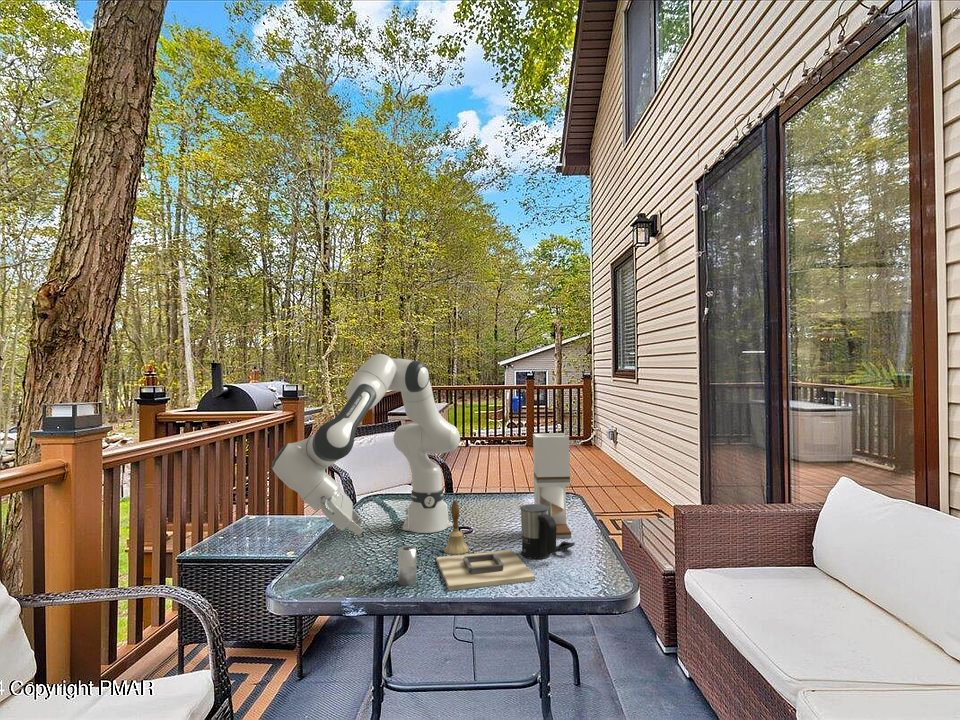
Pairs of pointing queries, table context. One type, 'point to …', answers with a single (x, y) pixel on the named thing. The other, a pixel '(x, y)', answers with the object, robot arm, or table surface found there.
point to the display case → (552, 476)
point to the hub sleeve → (407, 565)
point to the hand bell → (455, 535)
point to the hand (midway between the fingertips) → (360, 527)
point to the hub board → (483, 569)
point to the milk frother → (539, 532)
